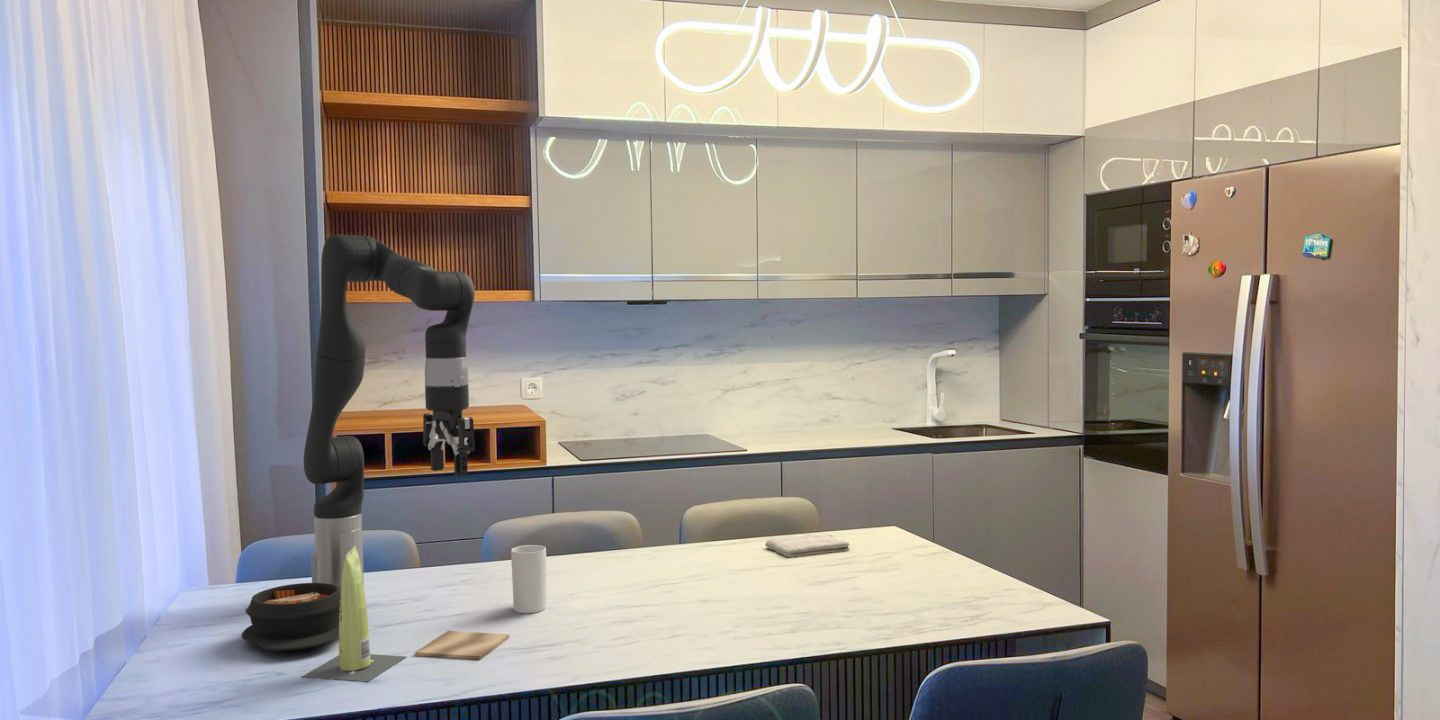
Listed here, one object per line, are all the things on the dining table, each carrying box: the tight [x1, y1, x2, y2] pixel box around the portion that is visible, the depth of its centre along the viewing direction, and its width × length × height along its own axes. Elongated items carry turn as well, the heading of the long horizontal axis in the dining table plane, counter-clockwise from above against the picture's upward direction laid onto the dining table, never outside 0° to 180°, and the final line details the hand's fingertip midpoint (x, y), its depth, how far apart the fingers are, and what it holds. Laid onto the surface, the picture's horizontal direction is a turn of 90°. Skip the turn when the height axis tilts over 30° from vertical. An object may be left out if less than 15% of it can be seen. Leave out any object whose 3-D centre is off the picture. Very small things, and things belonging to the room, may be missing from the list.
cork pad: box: [414, 630, 511, 661], centre depth 181 cm, size 12×12×1 cm
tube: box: [338, 546, 371, 671], centre depth 171 cm, size 6×5×20 cm
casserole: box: [240, 582, 341, 652], centre depth 187 cm, size 25×19×8 cm
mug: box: [510, 544, 547, 614], centre depth 205 cm, size 10×7×12 cm, turn 9°
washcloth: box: [765, 533, 850, 558], centre depth 251 cm, size 12×18×3 cm, turn 115°
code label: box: [300, 653, 408, 683], centre depth 171 cm, size 12×12×1 cm
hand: (449, 472), depth 185 cm, fingers open, 8 cm apart
